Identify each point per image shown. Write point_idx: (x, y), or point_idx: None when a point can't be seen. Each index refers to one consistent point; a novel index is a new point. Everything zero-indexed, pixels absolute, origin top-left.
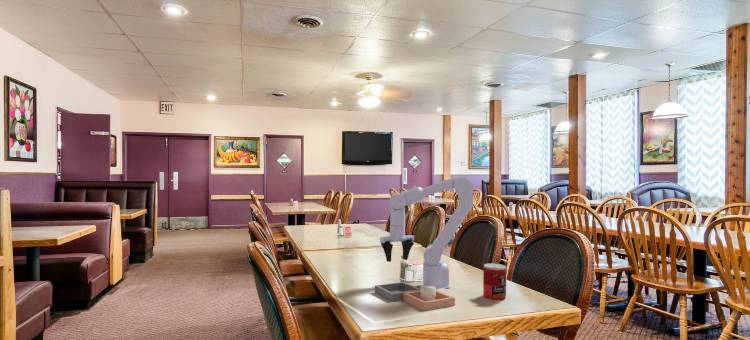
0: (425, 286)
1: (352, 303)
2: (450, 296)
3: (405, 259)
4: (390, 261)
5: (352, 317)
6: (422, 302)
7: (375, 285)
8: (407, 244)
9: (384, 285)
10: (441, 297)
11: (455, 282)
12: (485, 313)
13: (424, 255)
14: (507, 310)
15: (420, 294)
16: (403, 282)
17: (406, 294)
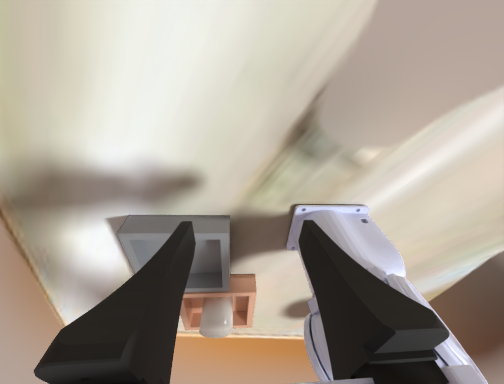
0: (212, 328)
1: (50, 249)
2: (250, 323)
3: (299, 239)
4: (193, 244)
5: (49, 298)
6: (184, 326)
7: (119, 233)
8: (335, 353)
9: (152, 239)
10: (247, 304)
11: (411, 217)
12: (268, 329)
13: (307, 349)
14: (303, 329)
15: (203, 309)
16: (224, 239)
17: None
